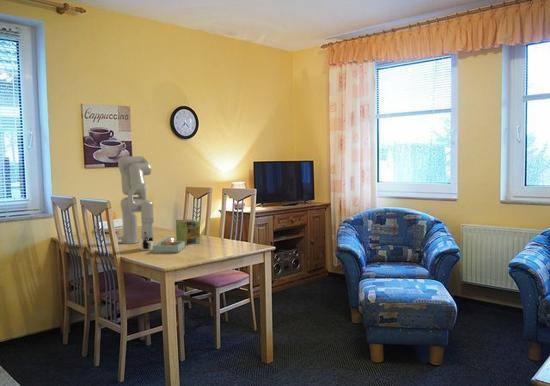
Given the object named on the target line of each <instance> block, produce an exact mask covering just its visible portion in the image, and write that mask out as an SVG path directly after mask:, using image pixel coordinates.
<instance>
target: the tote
mask: <svg viewBox="0 0 550 386" xmlns="http://www.w3.org/2000/svg"><path fill="white" fill-rule="evenodd" d="M185 249H186V245H185V241H176V240H174V246H164V240H160V241H159V242H157V243H155V244H154V245H153V249H152V254H179V253H180V252H182V251H183V250H185ZM181 250H182V251H181Z"/></svg>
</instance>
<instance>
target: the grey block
mask: <svg viewBox="0 0 550 386" xmlns="http://www.w3.org/2000/svg"><path fill="white" fill-rule="evenodd" d="M140 244H141V251H153V245H155V244H154V240H153V241H148V249H143V241H142V242H141V243H140Z"/></svg>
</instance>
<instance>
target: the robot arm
mask: <svg viewBox="0 0 550 386" xmlns="http://www.w3.org/2000/svg"><path fill="white" fill-rule="evenodd" d="M117 163H118V165H117V166H118V169H119V172H120V177H121V191H122V194H123V195H124V196H127V197H123V198H122V199H121V200H120V207H121V215H122V218H121V219H122V236H117V240H121V241H120V243H121V244H122V245H123V244H125V245H129V244H132V245H133V244H138V243H140V241H141V240H140V239H138V218H137V217H138V216H137V215H136V213H140V218H141V229H140V230H141V239H142V242H143V249H148V241H154V225H153V223H154V203H153V201H150V200H148V199H147V188H146V183H145V181H146V180H145V177H144V176H150V175H151V174H152V167H151V165H150V162H149V161H148V160H147V159H146V158H145V157H144V156H130V155H129V156H122V157H120V158H118V161H117Z"/></svg>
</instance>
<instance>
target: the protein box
mask: <svg viewBox="0 0 550 386" xmlns="http://www.w3.org/2000/svg"><path fill="white" fill-rule="evenodd" d="M200 225H201V223H200V220H196V219H190V218H187V219H186V218H185V219H176V220H175V234H176V235H175V241H185V246H191V245H196V244H200V243H201V226H200Z"/></svg>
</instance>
